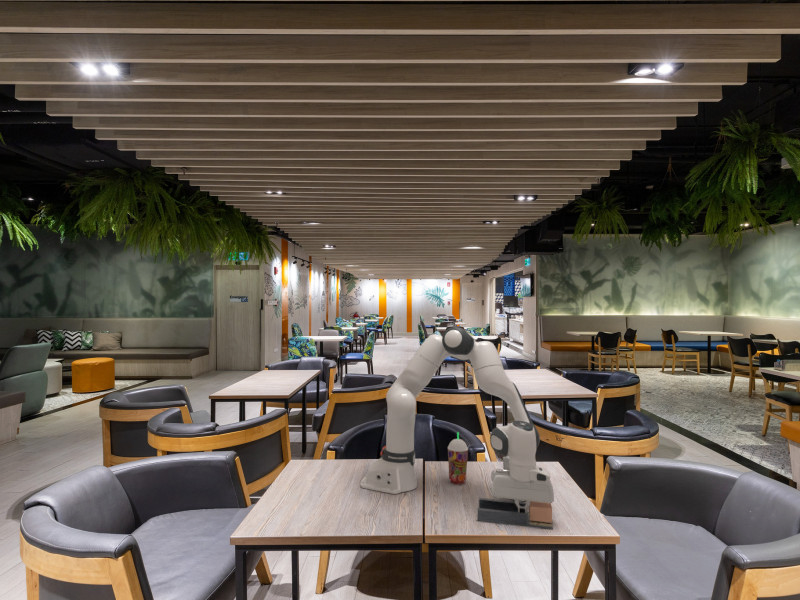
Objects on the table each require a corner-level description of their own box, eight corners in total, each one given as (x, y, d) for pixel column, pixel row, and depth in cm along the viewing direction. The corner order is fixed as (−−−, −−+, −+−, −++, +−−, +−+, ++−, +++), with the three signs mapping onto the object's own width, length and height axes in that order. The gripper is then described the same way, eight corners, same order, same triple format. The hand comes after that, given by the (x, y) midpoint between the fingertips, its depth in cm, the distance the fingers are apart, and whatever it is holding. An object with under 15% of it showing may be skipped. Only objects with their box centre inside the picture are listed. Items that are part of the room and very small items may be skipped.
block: (529, 520, 151) (529, 506, 151) (529, 513, 155) (529, 500, 156) (552, 522, 149) (552, 509, 149) (550, 516, 154) (550, 502, 154)
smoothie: (454, 486, 181) (455, 436, 181) (443, 479, 188) (443, 430, 188) (471, 483, 185) (472, 433, 185) (460, 476, 192) (460, 428, 192)
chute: (477, 520, 152) (477, 509, 152) (479, 508, 162) (479, 497, 162) (553, 529, 147) (553, 518, 147) (550, 515, 156) (550, 505, 156)
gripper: (490, 471, 153) (490, 513, 153) (554, 477, 148) (554, 520, 148) (491, 465, 159) (491, 505, 159) (552, 470, 155) (552, 511, 154)
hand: (522, 512), depth 153 cm, fingers closed
